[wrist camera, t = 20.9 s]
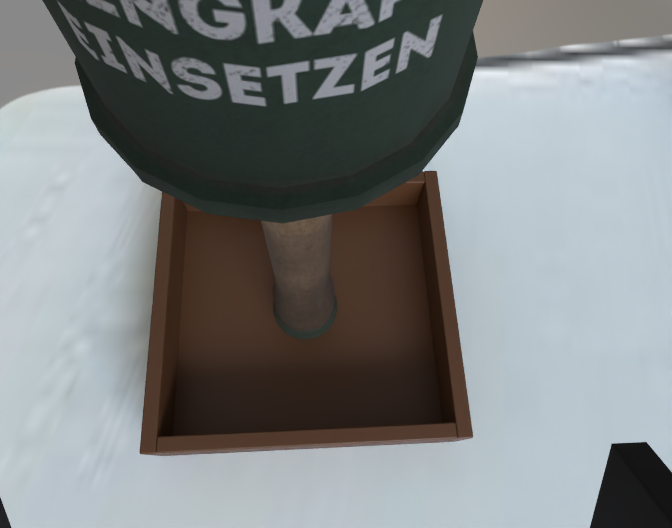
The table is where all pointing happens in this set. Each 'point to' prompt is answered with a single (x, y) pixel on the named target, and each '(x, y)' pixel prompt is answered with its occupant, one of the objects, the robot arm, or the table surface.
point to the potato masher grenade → (275, 111)
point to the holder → (298, 354)
